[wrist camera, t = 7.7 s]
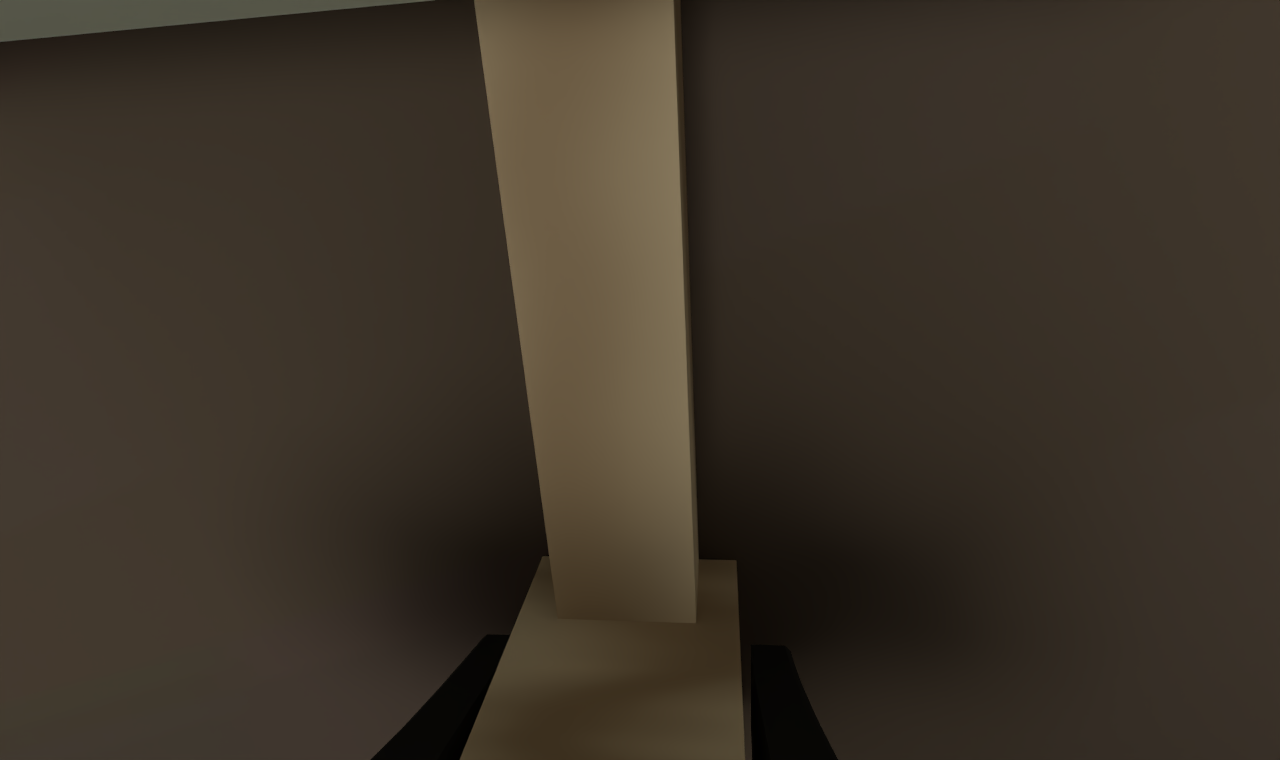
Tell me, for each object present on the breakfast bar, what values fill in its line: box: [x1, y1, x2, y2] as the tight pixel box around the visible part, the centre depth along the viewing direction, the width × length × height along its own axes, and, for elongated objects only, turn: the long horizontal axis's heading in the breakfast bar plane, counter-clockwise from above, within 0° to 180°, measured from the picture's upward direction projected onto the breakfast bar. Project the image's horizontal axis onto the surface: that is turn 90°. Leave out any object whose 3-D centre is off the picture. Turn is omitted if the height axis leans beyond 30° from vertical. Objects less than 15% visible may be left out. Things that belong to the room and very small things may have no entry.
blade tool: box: [460, 0, 745, 760], centre depth 9 cm, size 7×16×6 cm, turn 4°
